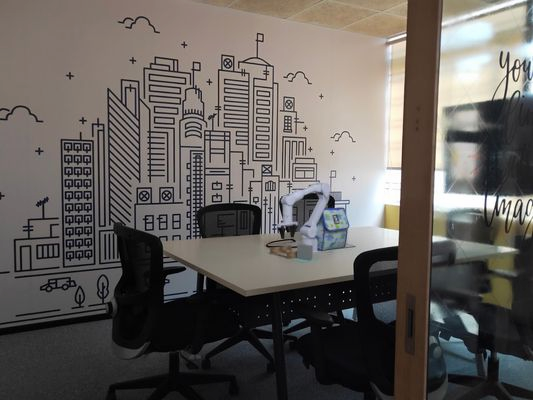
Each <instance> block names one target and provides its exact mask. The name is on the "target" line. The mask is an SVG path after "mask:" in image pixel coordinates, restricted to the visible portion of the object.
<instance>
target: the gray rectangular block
mask: <svg viewBox="0 0 533 400" xmlns="http://www.w3.org/2000/svg"><path fill="white" fill-rule="evenodd" d="M296 245H297V246H296V251H297V259H302V260H308V261H309V260H312V258H313V253H312V251H313V246H312V245H306V244H302V243H297V244H296ZM309 262H310V261H309Z"/></svg>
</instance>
